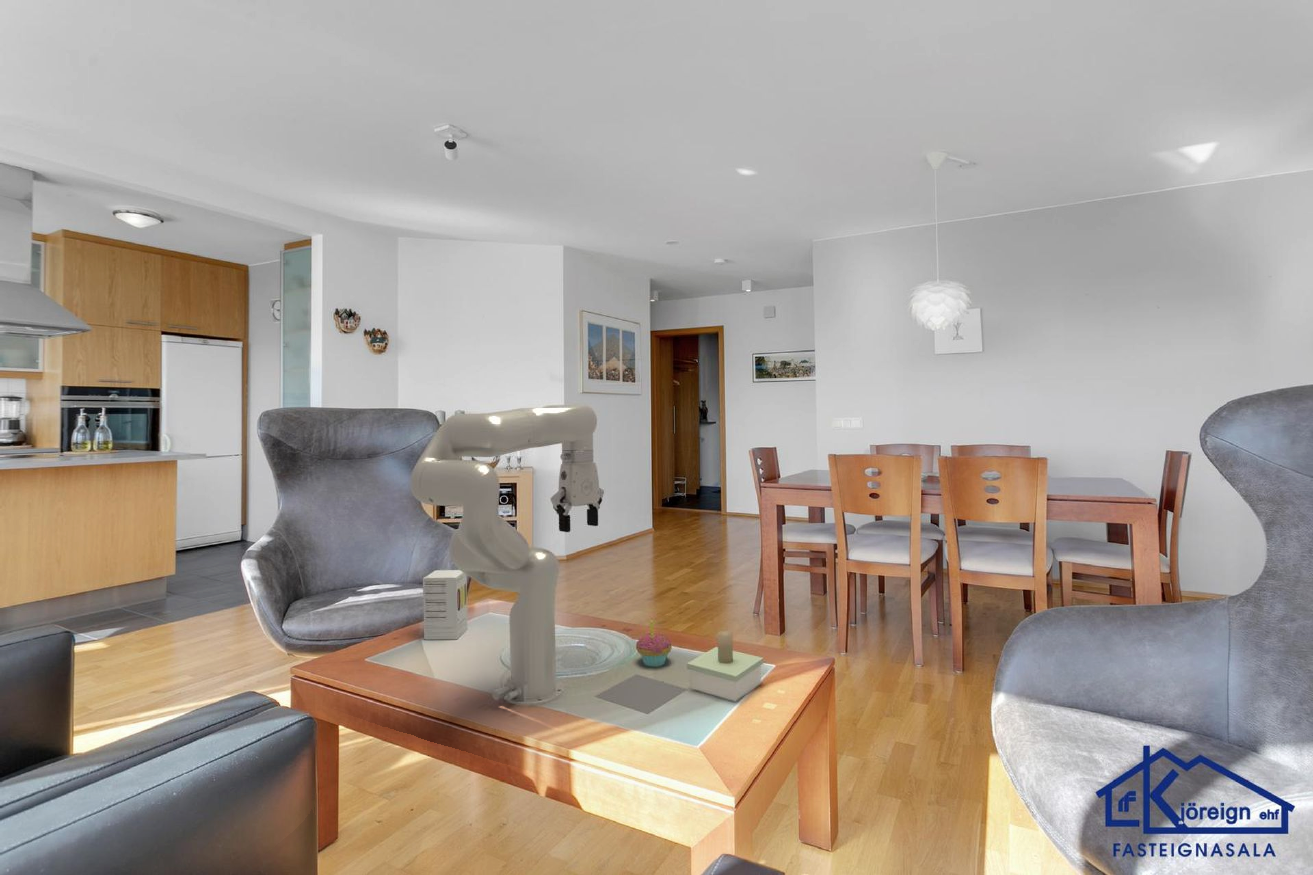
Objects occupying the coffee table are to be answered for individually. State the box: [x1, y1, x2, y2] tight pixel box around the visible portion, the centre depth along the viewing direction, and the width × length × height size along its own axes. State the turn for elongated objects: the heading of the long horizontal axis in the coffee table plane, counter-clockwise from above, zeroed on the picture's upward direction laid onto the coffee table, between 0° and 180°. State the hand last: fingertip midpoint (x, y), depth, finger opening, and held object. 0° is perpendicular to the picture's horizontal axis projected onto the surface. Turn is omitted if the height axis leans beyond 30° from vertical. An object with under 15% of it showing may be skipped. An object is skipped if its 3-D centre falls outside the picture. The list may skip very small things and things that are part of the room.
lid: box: [686, 630, 764, 682], centre depth 139 cm, size 12×12×7 cm
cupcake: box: [635, 617, 673, 667], centre depth 153 cm, size 9×8×12 cm
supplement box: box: [422, 569, 469, 641], centre depth 177 cm, size 10×9×17 cm
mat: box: [594, 673, 688, 715], centre depth 137 cm, size 14×14×1 cm
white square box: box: [689, 665, 762, 703], centre depth 139 cm, size 11×11×5 cm
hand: (579, 528), depth 155 cm, fingers open, 9 cm apart
